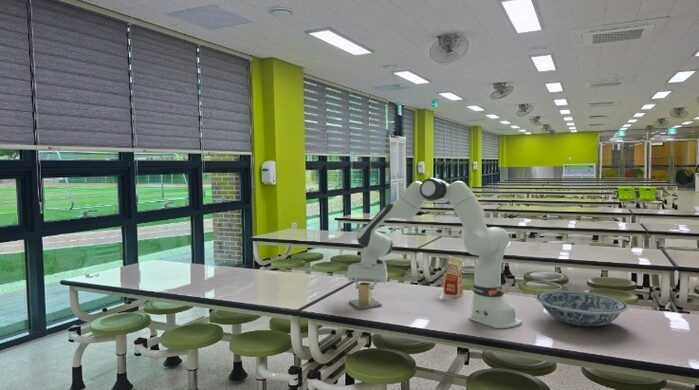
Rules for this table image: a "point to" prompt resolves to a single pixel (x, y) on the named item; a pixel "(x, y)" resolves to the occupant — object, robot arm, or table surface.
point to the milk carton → (453, 278)
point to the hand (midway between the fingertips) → (364, 288)
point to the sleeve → (364, 293)
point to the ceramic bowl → (581, 307)
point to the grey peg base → (365, 306)
